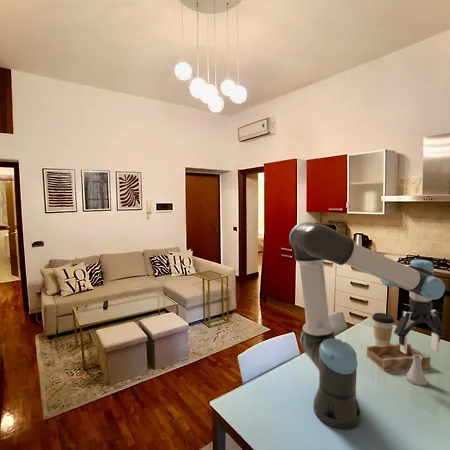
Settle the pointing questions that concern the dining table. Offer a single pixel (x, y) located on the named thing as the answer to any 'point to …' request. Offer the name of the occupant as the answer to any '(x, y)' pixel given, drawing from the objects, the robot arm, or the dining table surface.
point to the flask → (416, 372)
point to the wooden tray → (394, 357)
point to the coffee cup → (382, 328)
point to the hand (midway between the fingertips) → (419, 351)
